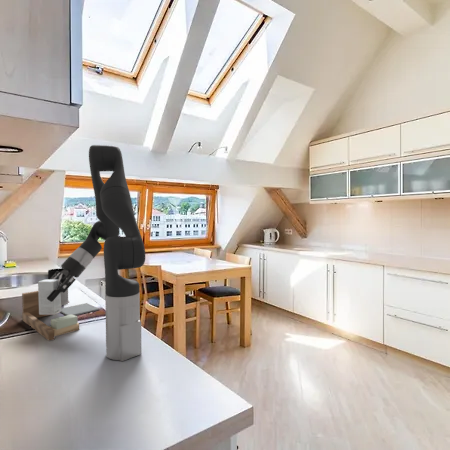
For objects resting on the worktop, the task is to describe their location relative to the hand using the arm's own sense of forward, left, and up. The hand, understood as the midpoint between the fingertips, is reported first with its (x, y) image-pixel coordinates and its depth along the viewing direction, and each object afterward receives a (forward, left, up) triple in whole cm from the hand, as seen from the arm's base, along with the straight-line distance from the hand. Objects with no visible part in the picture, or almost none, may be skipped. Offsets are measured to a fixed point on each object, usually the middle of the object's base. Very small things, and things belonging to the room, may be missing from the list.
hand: (45, 298), depth 113 cm
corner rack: (-3, -1, -9) cm, 10 cm away
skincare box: (0, -2, -6) cm, 6 cm away
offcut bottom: (-11, -2, -10) cm, 15 cm away
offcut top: (-12, -2, -7) cm, 14 cm away
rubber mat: (+8, -15, -9) cm, 19 cm away
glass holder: (+27, -14, -10) cm, 32 cm away
